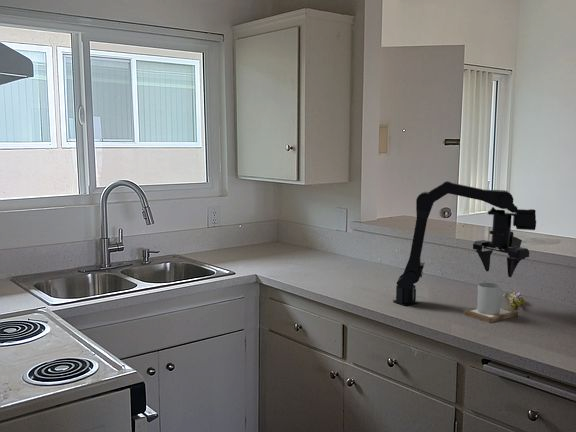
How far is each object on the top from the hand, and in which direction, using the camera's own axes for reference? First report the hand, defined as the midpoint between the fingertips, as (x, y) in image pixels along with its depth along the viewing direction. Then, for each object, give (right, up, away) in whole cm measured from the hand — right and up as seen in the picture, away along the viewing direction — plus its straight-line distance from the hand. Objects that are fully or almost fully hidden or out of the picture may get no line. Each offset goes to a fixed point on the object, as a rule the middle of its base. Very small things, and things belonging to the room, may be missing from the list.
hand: (498, 274), depth 193 cm
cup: (-4, -12, -4) cm, 13 cm away
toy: (+9, -12, +9) cm, 17 cm away
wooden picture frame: (-4, -13, -4) cm, 14 cm away
